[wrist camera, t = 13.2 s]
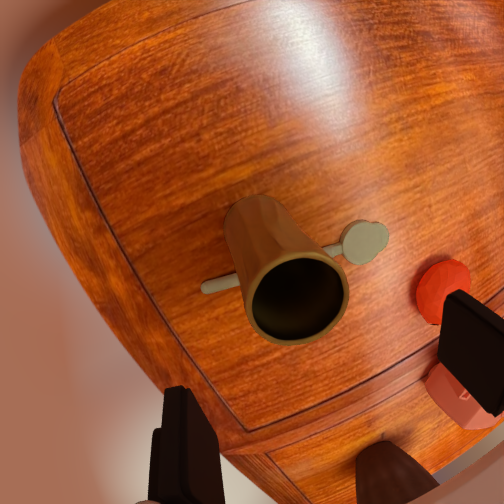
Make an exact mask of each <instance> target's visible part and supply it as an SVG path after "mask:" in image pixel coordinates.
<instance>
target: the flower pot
mask: <svg viewBox="0 0 504 504" xmlns="http://www.w3.org/2000/svg"><path fill="white" fill-rule="evenodd" d="M438 486H440V484H439V483H437V481H436V480H435V479H434V478H433V477H432V475H431V474H430V473H429V472H428V471H427V470H426V469H425V468H423V467H422V466H421V465H420V464H419V463H418V462H417V461H416V460H415V459H413V458H412V457H411V456H410V455H408V454H407V453H406V452H405V451H403V450H402V449H401V448H399V447H398V446H396V445H395V444H393V443H392V442H390V441H383V442H379V443H376V444H374V445H372V446H370V447H368V448H366V449H365V450H364V451H362V452H361V453H360V454H359V455H358V457H357V459H356V498H357V504H407V503H409V502H411V501H413V500H415V499H417V498H418V497H420V496H422V495H424V494H426V493H427V492H429V491H431V490H433V489H434V488H436V487H438Z"/></svg>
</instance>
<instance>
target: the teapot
mask: <svg viewBox="0 0 504 504" xmlns="http://www.w3.org/2000/svg"><path fill="white" fill-rule="evenodd" d="M428 376H429V378H428V380H427V381H426V383H425V386H426V389H427V391H428V393H429V395H430V397H431V398H432V399H433V400H434V401H435V403H436V404H437V405H438V406H439V407H440V408H441V409H442V410H443V411H444V412H445V413H446V414H447V415H448V416H449V417H450V418H452V419H453V420H454V421H455V422H456V423H457V424H458V425H459V426H461V427H462V428H463V429H468V430H475V429H483V428H488V427H491V426H493V425H495V424H496V423H497V422H498V421H499V420H500V418H501V417H504V411H503V412H502V413H501V414H500V415H498V416H497V417H496V418H495V417H494V416H493V415H492V414H489V413H487V412H486V411H485V410H484V409H483V408H482V407H481V406H480V404H479V403H478V402H477V401H476V400H475V399H474V398H473V397H472V396H471V394H470V393H469V392H468V391H467V390H466V389H465V388H464V387H463V386H462V385H461V383H460V382H459V381H458V380H457V379H456V378H455V377H454V376H453V375H452V374H451V373H450V372H449V371H448V370H447V368H446V367H445V366H444V365H443V364H442V363H441V362H440V363H439V364H436V365H435V366H434V367H433V368H432V369H431V370H430V372H429V375H428Z"/></svg>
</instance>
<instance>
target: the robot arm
mask: <svg viewBox="0 0 504 504" xmlns="http://www.w3.org/2000/svg"><path fill="white" fill-rule="evenodd" d="M437 356H438V359H439V361H440V362H441V363H442V364H443V365H444V366H445V367H446V368H447V370H448V371H449V372H450V373H451V374H452V375H453V376H454V377H455V378H456V379H457V380H458V381H459V382H460V383H461V385H462V386H463V387H464V388H465V389H466V390H467V391H468V392H469V393H470V394H471V396H472V397H473V398H474V399H475V400H476V401H477V402H478V403H479V404H480V406H481V407H482V408H483V409H484V410H485V411H486V412H487V413H489V414H492V415H493V416H494V417H495V418H496V417H497V416H498V415H500V414H501V413H502V412H503V411H504V319H503V318H501V317H500V316H499V315H497V314H496V313H494V312H493V311H492V310H490V309H489V308H488V307H486V306H485V305H483V304H482V303H481V302H479V301H478V300H476V299H475V298H473V297H472V296H471V295H469V294H468V293H466V292H465V291H463V290H461V289H458V290H456V291H454V292H452V293H450V294H448V295H447V296H446V299H445V301H444V304H443V314H442V323H441V331H440V338H439V345H438V352H437ZM136 504H225V496H224V488H223V480H222V472H221V463H220V453H219V443H218V438H217V435H216V433H215V431H214V430H213V428H212V426H211V425H210V423H209V421H208V419H207V418H206V416H205V414H204V413H203V411H202V409H201V407H200V406H199V404H198V402H197V400H196V398H195V397H194V395H193V393H192V391H191V389H190V388H187V389H185V388H184V386H182V385H180V386H175V387H171V388H166V389H165V392H164V402H163V414H162V425H161V428H156V429H155V430H154V431H153V435H152V445H151V457H150V470H149V485H148V500H145V501H140V502H138V503H136ZM407 504H504V440H503V441H502V442H501V443H500V444H498V445H497V446H496V447H495V448H494V449H492V450H491V451H490V452H488V453H487V454H486V455H484V456H483V457H482V458H480V459H479V460H477V461H476V462H475V463H473V464H472V465H470V466H469V467H468V468H466V469H465V470H463V471H462V472H460V473H459V474H457V475H456V476H454V477H453V478H451V479H449V480H448V481H446V482H444V483H443V484H441V485H440V486H438V487H436V488H434V489H433V490H431V491H429V492H427V493H426V494H424V495H422V496H420V497H418V498H417V499H415V500H413V501H411V502H409V503H407Z"/></svg>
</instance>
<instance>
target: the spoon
mask: <svg viewBox="0 0 504 504" xmlns="http://www.w3.org/2000/svg"><path fill="white" fill-rule="evenodd" d="M388 241H389V232H388V229H387V228H386V226H385V225H383V224H381V223H379V222H372V223H370V222H368V221H365V220H358V221H355V222H352V223H351V224H349V225H348V226H347V227H346V228H345V229H344V231H343V233H342V235H341V238H340V243H336V244H333V245H329V246H326V247H323V248H322V249H323V250H324V251H325V252H326V253H327V254H328V255H330V256H331V257H332V258H334V257H335V256H336V255H340V254H342V255H343V256H344V257H345V258H346V259H347V260H348V261H349V262H351V263H352V264H355V265H363V264H366V263H368V262H370V261H372V260H373V259H374V258H375V257H376V256H377V254H378V253H379V252H381V251H382V250H383V249H384V248H385V247H386V245H387V244H388ZM239 285H240V283H239V280H238V276H237V273H234V274H230V275H227V276H223V277H220V278H216V279H212V280H209V281H205V282H203V283H202V285H201V291H202V292H203V293H205V294H210V293H214V292H218V291H221V290H225V289H229V288H232V287H236V286H239Z"/></svg>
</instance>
